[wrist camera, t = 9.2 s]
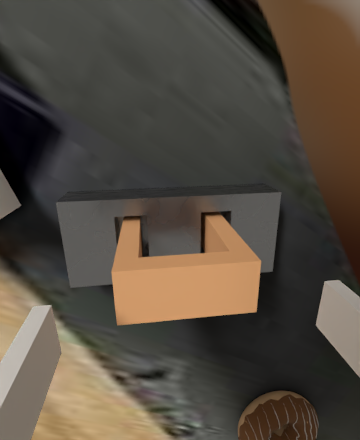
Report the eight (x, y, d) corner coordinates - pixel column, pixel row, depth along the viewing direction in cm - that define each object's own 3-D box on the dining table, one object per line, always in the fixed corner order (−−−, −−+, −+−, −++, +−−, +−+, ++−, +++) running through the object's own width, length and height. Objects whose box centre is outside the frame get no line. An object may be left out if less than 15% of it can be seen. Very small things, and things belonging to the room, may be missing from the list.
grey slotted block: (68, 191, 24) (55, 202, 21) (263, 183, 26) (281, 192, 23) (79, 267, 26) (70, 287, 23) (257, 254, 28) (272, 271, 25)
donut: (221, 435, 37) (230, 470, 33) (252, 377, 34) (266, 408, 31) (287, 443, 40) (302, 476, 36) (321, 389, 37) (341, 419, 33)
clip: (124, 213, 24) (111, 272, 15) (215, 208, 25) (261, 260, 16) (127, 248, 26) (117, 325, 16) (214, 243, 27) (256, 312, 17)
